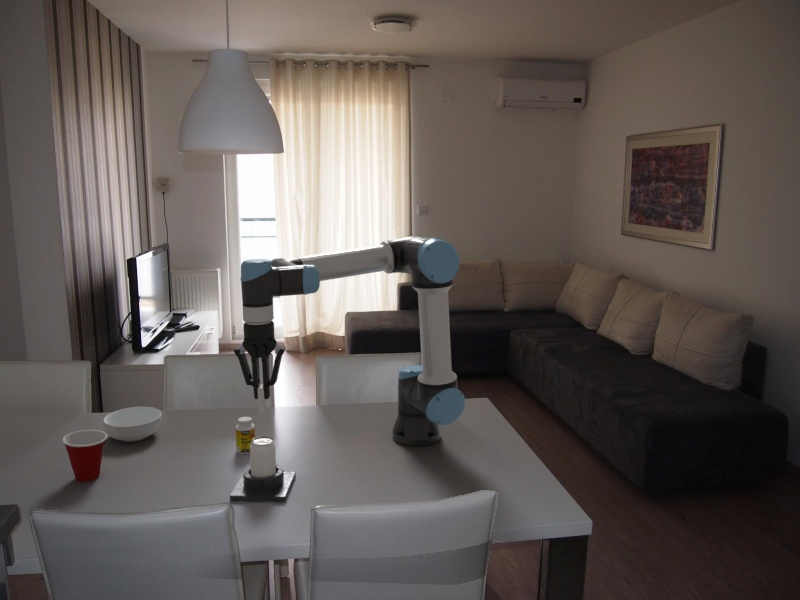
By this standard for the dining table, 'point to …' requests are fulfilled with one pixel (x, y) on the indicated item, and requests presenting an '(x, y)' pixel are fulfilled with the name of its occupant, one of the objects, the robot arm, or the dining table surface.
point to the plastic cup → (85, 453)
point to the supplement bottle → (244, 435)
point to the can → (262, 457)
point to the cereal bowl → (132, 423)
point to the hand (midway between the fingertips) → (262, 410)
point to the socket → (263, 487)
